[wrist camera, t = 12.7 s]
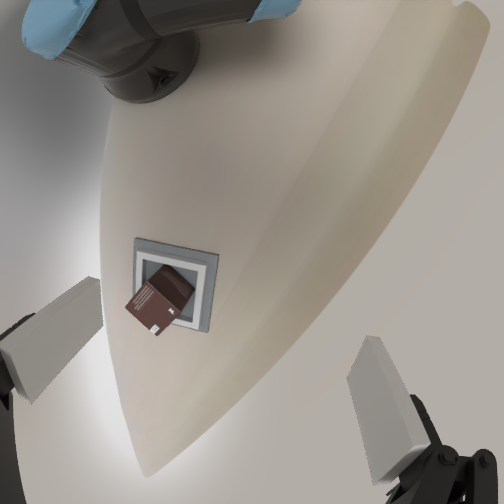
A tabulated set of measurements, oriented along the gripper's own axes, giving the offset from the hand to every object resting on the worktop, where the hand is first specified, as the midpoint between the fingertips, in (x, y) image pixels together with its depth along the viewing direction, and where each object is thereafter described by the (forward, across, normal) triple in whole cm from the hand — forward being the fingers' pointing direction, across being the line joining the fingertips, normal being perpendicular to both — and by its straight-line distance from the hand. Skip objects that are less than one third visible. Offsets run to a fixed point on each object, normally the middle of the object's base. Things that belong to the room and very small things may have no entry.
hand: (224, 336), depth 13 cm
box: (+26, -11, -12) cm, 31 cm away
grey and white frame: (+27, -11, -12) cm, 31 cm away
